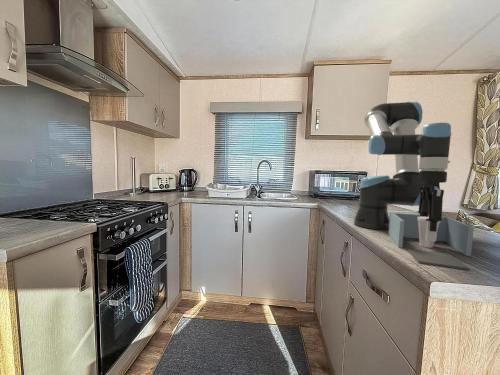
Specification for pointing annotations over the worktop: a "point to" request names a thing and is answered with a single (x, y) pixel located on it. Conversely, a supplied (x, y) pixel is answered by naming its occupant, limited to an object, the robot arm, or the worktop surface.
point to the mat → (437, 259)
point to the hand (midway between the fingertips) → (427, 237)
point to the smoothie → (424, 232)
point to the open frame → (447, 231)
